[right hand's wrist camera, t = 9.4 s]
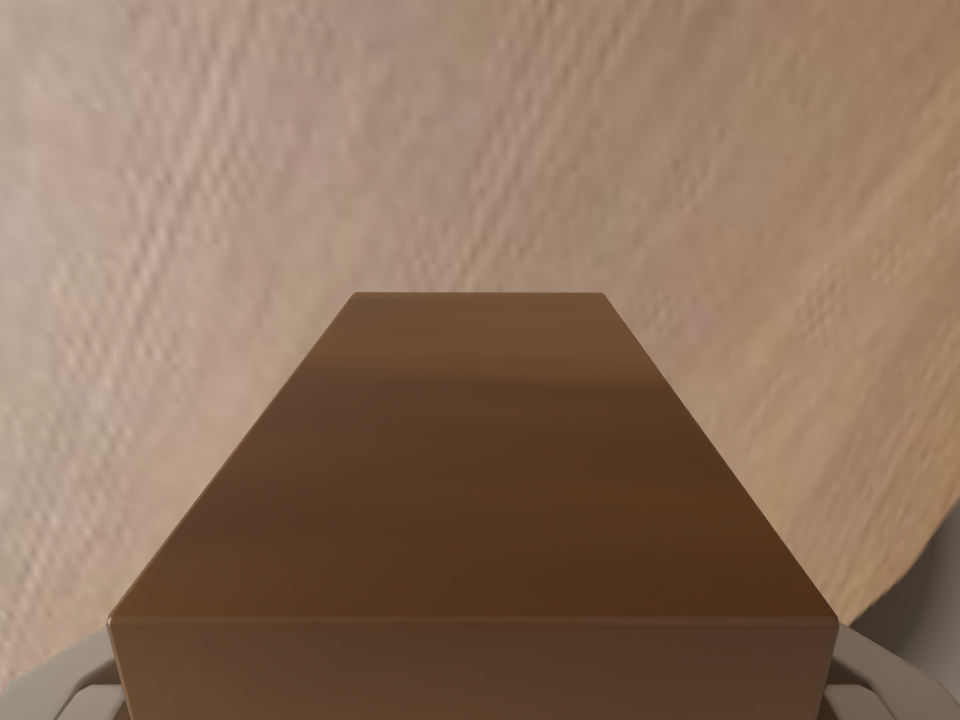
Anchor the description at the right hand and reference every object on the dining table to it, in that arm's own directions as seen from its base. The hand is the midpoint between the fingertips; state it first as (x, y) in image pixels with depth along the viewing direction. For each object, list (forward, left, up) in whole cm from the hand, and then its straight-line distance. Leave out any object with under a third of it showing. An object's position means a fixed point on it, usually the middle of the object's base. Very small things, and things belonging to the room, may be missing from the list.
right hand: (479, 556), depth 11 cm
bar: (+8, 0, -4) cm, 9 cm away
